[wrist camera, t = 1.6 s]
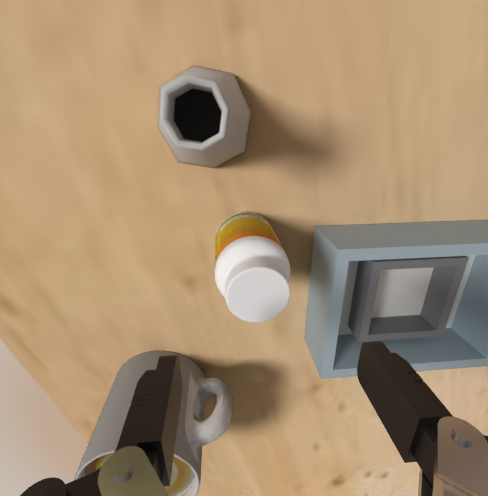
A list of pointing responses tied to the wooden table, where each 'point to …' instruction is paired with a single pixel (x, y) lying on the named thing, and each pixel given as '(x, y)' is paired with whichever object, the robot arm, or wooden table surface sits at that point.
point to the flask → (203, 116)
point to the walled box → (399, 294)
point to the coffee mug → (189, 425)
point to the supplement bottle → (251, 268)
